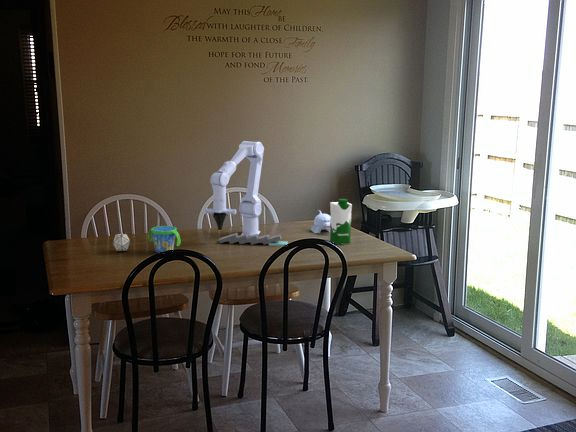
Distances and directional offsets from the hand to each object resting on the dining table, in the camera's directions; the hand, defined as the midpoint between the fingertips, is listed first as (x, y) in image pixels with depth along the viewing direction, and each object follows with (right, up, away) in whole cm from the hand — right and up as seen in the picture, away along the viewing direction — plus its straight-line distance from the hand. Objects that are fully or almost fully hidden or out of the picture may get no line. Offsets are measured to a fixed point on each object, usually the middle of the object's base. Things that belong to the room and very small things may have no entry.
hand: (220, 229), depth 281 cm
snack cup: (-22, -9, -16) cm, 29 cm away
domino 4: (+14, -6, -1) cm, 15 cm away
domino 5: (+20, -6, -1) cm, 20 cm away
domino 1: (0, -5, +1) cm, 5 cm away
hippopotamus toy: (+48, -2, +24) cm, 54 cm away
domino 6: (+22, -6, -2) cm, 23 cm away
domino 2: (+5, -5, +1) cm, 7 cm away
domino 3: (+9, -5, 0) cm, 11 cm away
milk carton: (+54, -6, +3) cm, 54 cm away
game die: (-40, -9, -16) cm, 44 cm away
